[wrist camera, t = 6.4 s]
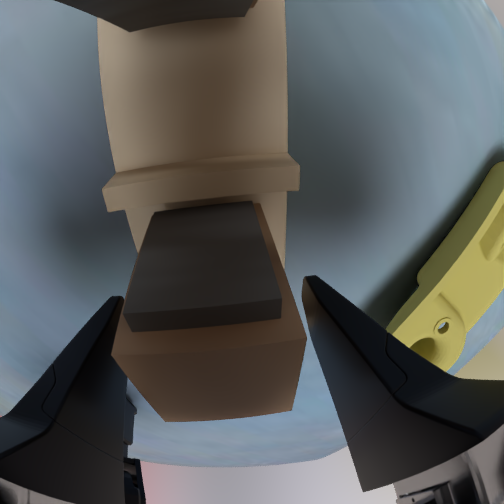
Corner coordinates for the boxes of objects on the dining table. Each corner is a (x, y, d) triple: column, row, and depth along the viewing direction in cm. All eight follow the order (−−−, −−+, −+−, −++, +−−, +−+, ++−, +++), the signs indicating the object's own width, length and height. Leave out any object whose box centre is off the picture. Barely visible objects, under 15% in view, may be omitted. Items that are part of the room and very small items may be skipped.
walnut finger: (173, 294, 12) (165, 421, 7) (148, 200, 9) (99, 337, 5) (262, 284, 12) (291, 410, 8) (259, 187, 10) (310, 318, 5)
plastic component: (524, 146, 9) (570, 245, 9) (471, 147, 16) (523, 224, 16) (337, 380, 16) (416, 425, 16) (332, 323, 23) (400, 372, 23)
